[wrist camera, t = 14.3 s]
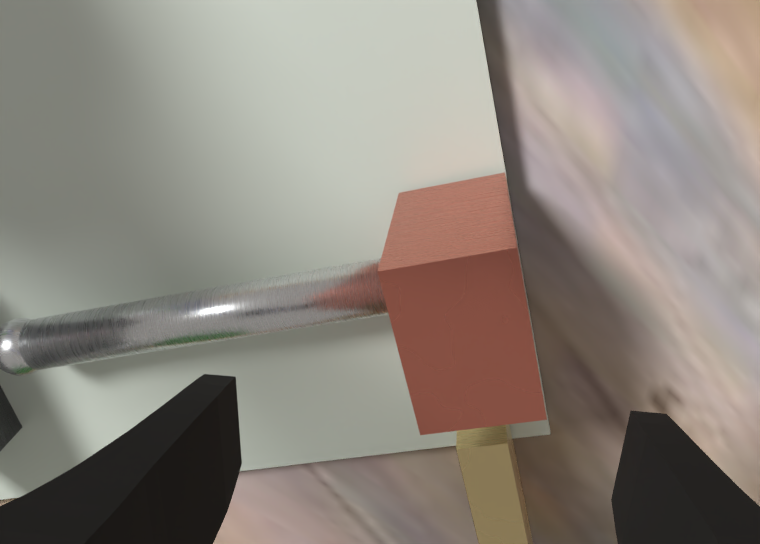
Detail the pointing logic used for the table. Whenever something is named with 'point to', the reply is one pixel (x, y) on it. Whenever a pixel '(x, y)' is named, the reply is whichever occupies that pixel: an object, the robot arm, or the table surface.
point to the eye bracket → (7, 421)
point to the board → (225, 202)
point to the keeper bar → (493, 485)
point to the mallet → (356, 311)
